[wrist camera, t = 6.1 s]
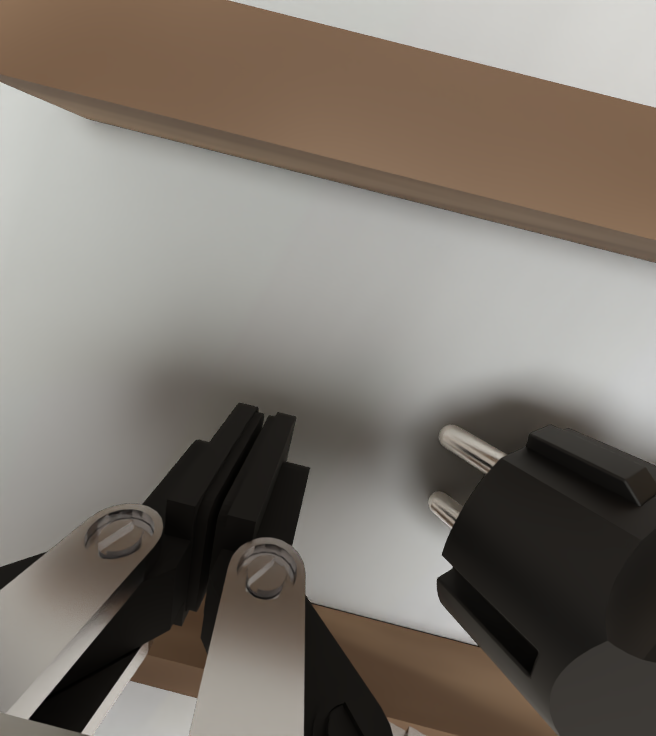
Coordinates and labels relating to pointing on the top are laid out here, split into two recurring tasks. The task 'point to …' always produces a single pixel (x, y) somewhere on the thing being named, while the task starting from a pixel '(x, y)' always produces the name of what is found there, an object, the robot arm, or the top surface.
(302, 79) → the brown wooden u-shaped frame
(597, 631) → the power plug
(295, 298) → the top surface
